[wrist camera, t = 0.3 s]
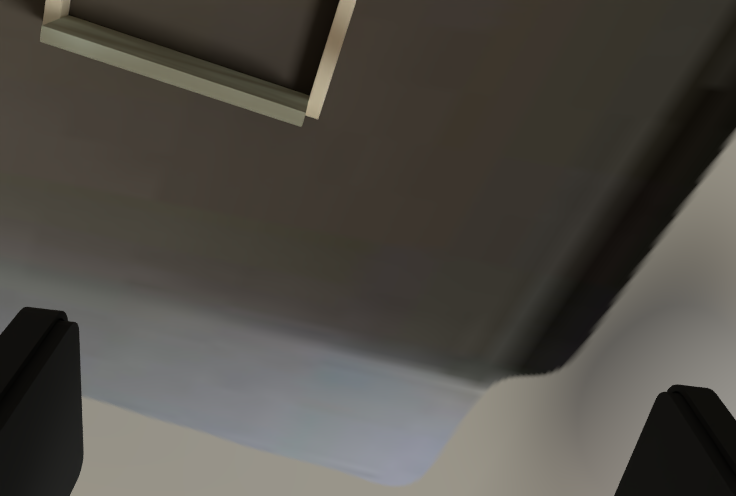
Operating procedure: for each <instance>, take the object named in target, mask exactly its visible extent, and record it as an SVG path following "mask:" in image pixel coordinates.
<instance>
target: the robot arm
mask: <svg viewBox="0 0 736 496" xmlns="http://www.w3.org/2000/svg"><path fill="white" fill-rule="evenodd" d="M82 463H83V427H82V399H81V371H80V343H79V327H78V324H77V323H76V322H70V321H68V318H67V315H66V313H65V312H64V311H58V310H49V309H41V308H32V307H24V308H23V309H22V310H20V311H19V313H18V314H17V315H16V316H15V318H14V319H13V320H12V321H11V322H10V324H9V325H8V326H7V327H6V329H5V330H4V331H3V332H2V334H1V335H0V496H70V494H71V492H72V489H73V488H74V486H75V483H76V481H77V479H78V477H79V474H80V471H81V467H82ZM614 496H736V420H735V419H734V417H733V416H732V415H731V413H730V412H729V411H728V409H727V408H726V406H725V405H724V404H723V403H722V401H721V400H720V399H719V397H718V396H717V394H716V393H715V392H714V391H713V390H711V389H708V388H702V387H694V386H685V385H672V386H671V387H670V388H669V389H668V390H667V392H662V393H660V394H659V395H658V396H657V398H656V400H655V403H654V405H653V407H652V409H651V412H650V414H649V416H648V419H647V421H646V423H645V426H644V428H643V430H642V433H641V435H640V437H639V440H638V442H637V444H636V446H635V449H634V451H633V453H632V456H631V458H630V460H629V463H628V465H627V467H626V470H625V472H624V474H623V476H622V479H621V481H620V483H619V486H618V489H617V490H616V493H615V495H614Z"/></svg>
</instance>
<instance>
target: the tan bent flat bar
mask: <svg viewBox="0 0 736 496" xmlns="http://www.w3.org/2000/svg"><path fill="white" fill-rule="evenodd" d="M70 1H71V0H46V2H45V10H44V17H43V25H42V28H41V36H40V42H43V43H46V44H49V45H52V46H55V47H58V48H61V49H64V50H67V51H71V52H74V53H77V54H80V55H83V56H86V57H89V58H92V59H95V60H98V61H101V62H104V63H107V64H110V65H113V66H116V67H120V68H123V69H126V70H129V71H132V72H135V73H138V74H141V75H144V76H147V77H150V78H153V79H156V80H159V81H162V82H165V83H168V84H172V85H175V86H178V87H181V88H184V89H187V90H190V91H193V92H196V93H199V94H202V95H205V96H208V97H211V98H214V99H217V100H221V101H224V102H227V103H230V104H233V105H236V106H239V107H242V108H245V109H248V110H251V111H254V112H257V113H260V114H263V115H266V116H270V117H273V118H276V119H279V120H282V121H285V122H288V123H291V124H294V125H297V126H300V127H302V124H303V120H304V117H305V115H306V116H309V117H312V118H315V119H318V118H319V115H320V112H321V109H322V106H323V103H324V99H325V96H326V93H327V90H328V87H329V84H330V81H331V78H332V75H333V71H334V68H335V65H336V62H337V59H338V56H339V53H340V50H341V47H342V43H343V40H344V37H345V34H346V31H347V28H348V25H349V22H350V19H351V15H352V12H353V9H354V6H355V3H356V0H339V3H338V7H337V10H336V13H335V16H334V19H333V23H332V26H331V29H330V32H329V35H328V39H327V42H326V45H325V48H324V52H323V55H322V58H321V61H320V64H319V68H318V71H317V74H316V77H315V80H314V84H313V87H312V90H311V93H310V96H309V95H306V94H303V93H300V92H297V91H294V90H291V89H288V88H285V87H282V86H279V85H276V84H273V83H270V82H267V81H264V80H261V79H258V78H255V77H252V76H249V75H246V74H243V73H240V72H237V71H234V70H231V69H228V68H225V67H222V66H219V65H216V64H213V63H210V62H207V61H204V60H201V59H198V58H195V57H192V56H189V55H186V54H184V53H181V52H178V51H175V50H172V49H169V48H166V47H163V46H160V45H157V44H154V43H151V42H148V41H145V40H142V39H139V38H136V37H133V36H130V35H127V34H124V33H121V32H118V31H115V30H112V29H109V28H106V27H103V26H100V25H97V24H94V23H91V22H88V21H85V20H82V19H79V18H76V17H73V16H70V15H69V8H70Z"/></svg>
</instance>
